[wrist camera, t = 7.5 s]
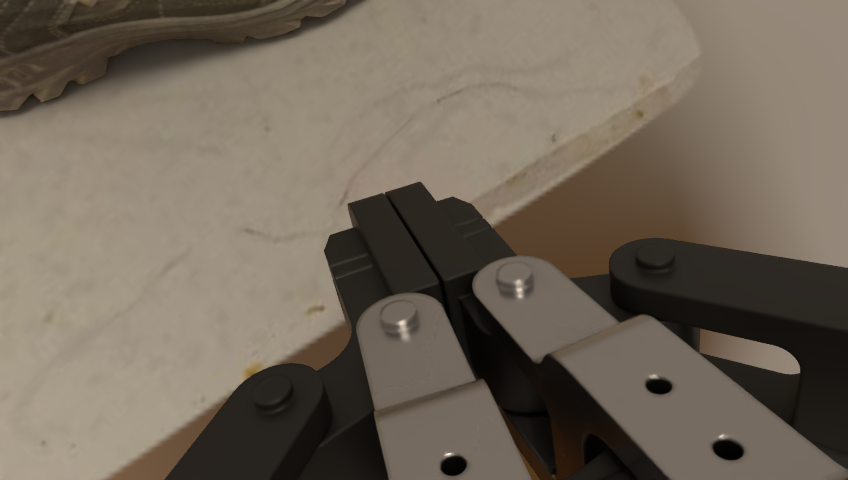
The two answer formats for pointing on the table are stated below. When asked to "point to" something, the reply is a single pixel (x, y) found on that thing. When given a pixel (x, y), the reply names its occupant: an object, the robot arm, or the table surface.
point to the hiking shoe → (121, 34)
